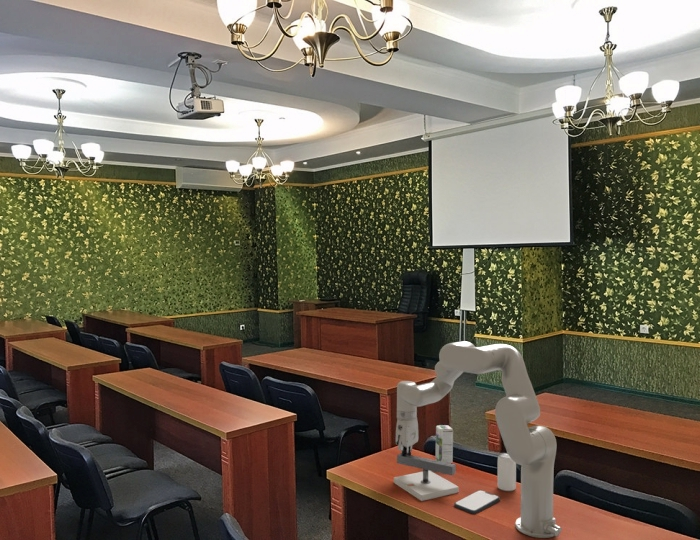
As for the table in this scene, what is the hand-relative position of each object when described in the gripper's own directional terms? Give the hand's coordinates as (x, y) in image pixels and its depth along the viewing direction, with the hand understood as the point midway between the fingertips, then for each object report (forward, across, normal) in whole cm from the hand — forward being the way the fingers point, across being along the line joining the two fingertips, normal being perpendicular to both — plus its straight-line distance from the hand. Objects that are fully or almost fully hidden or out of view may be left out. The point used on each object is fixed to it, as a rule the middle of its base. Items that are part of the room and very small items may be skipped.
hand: (406, 462), depth 215 cm
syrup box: (+6, +24, -4) cm, 26 cm away
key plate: (+6, -3, -10) cm, 12 cm away
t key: (+4, -3, -10) cm, 11 cm away
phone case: (+7, -5, -31) cm, 32 cm away
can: (+6, +14, -34) cm, 37 cm away
